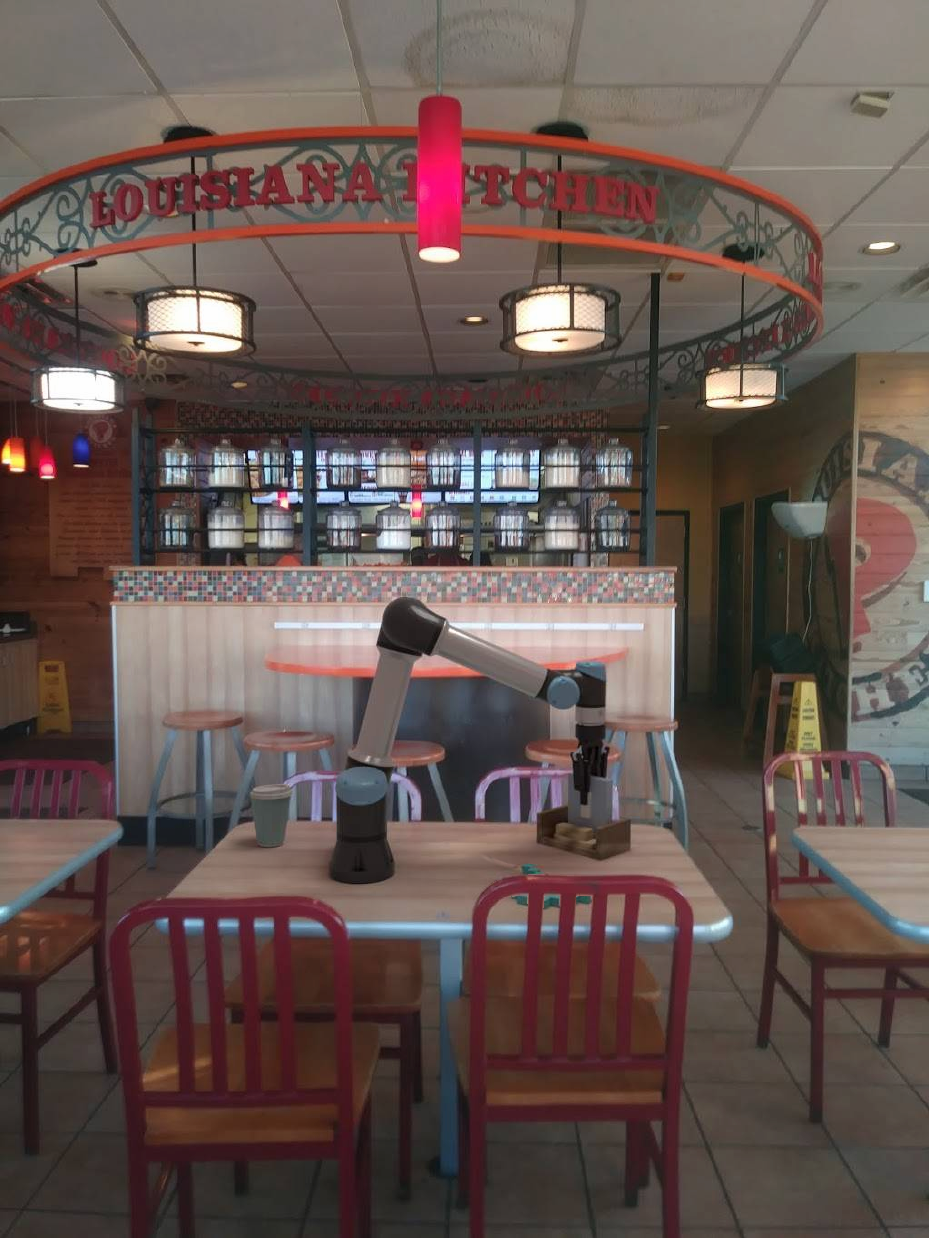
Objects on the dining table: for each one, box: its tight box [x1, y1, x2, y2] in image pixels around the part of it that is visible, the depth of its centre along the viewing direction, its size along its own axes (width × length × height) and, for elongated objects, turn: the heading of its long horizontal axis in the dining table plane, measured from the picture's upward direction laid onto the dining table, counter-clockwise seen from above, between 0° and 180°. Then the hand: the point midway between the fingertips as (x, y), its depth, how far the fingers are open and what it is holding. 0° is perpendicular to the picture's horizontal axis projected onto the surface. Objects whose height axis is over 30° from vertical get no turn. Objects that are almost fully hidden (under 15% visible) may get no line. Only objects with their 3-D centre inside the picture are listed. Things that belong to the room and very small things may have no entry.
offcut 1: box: [556, 822, 593, 842], centre depth 217 cm, size 9×3×2 cm, turn 49°
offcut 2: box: [554, 834, 596, 850], centre depth 217 cm, size 12×4×2 cm, turn 44°
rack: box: [536, 804, 632, 861], centre depth 218 cm, size 20×12×9 cm, turn 44°
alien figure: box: [508, 862, 592, 910], centre depth 191 cm, size 20×2×20 cm
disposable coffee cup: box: [249, 783, 293, 848], centre depth 225 cm, size 11×11×15 cm
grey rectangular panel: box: [567, 772, 614, 834], centre depth 220 cm, size 12×2×17 cm, turn 44°
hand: (589, 815), depth 220 cm, fingers closed on grey rectangular panel, 2 cm apart
